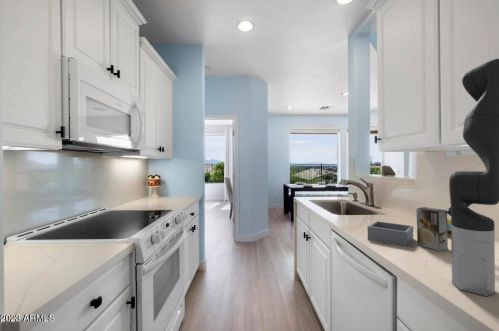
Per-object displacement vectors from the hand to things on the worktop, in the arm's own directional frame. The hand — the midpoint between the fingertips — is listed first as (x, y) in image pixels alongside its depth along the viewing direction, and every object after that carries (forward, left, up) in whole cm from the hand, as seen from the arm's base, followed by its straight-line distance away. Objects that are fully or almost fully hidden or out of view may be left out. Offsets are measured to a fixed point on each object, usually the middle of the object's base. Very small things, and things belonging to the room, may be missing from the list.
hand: (449, 212), depth 100 cm
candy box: (+26, +5, -16) cm, 31 cm away
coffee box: (0, +6, -16) cm, 17 cm away
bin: (+1, +22, -15) cm, 27 cm away
